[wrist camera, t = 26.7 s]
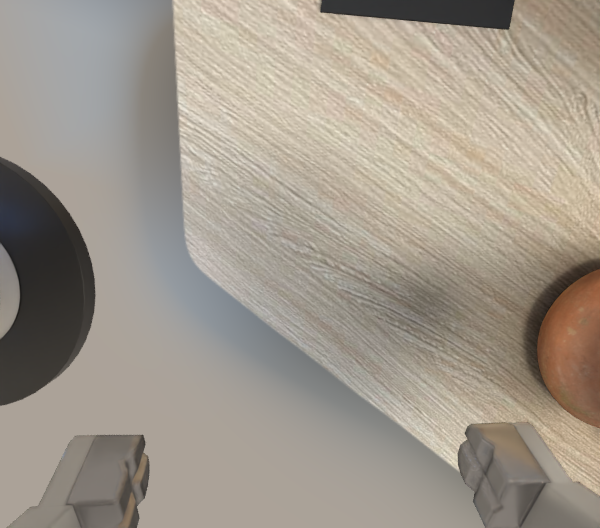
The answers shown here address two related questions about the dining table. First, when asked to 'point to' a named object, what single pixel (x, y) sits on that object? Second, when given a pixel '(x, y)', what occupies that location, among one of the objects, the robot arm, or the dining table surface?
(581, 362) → the ceramic jug
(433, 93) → the dining table surface
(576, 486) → the robot arm
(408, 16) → the mat
